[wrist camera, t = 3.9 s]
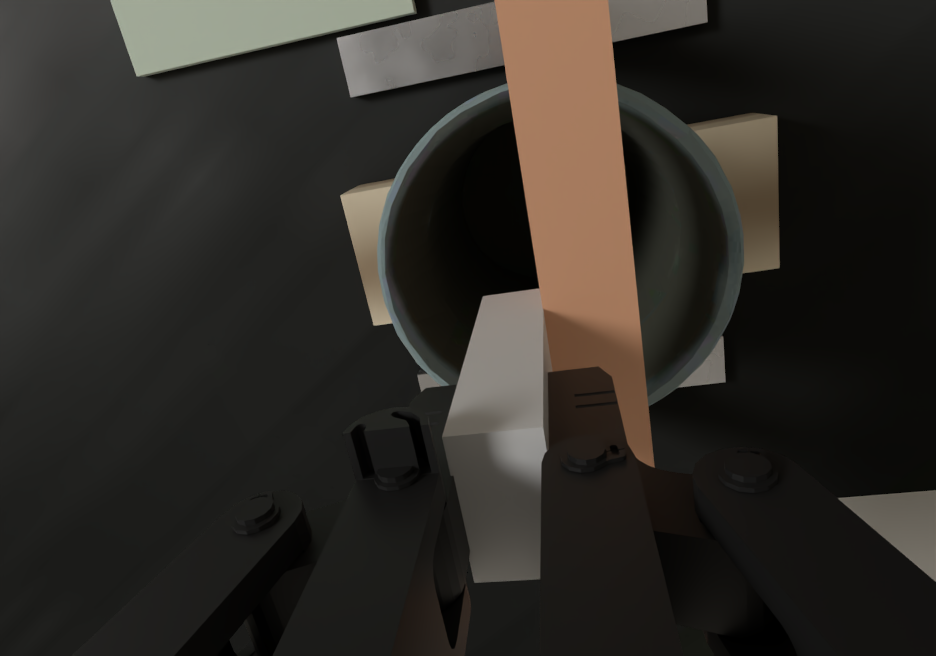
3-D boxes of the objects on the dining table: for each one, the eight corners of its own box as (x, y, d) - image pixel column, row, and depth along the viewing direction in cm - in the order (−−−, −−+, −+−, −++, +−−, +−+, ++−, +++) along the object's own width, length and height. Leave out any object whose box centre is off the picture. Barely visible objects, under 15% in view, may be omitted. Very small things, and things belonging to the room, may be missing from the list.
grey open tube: (664, 287, 29) (748, 412, 18) (456, 315, 31) (415, 448, 20) (649, 57, 26) (741, 37, 15) (414, 102, 27) (335, 115, 16)
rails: (340, 39, 27) (336, 38, 26) (700, -44, 24) (704, -47, 24) (429, 410, 33) (427, 415, 32) (722, 376, 30) (725, 382, 30)
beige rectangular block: (359, 184, 29) (340, 195, 26) (752, 112, 26) (777, 115, 23) (388, 304, 31) (374, 325, 28) (756, 249, 28) (779, 268, 25)
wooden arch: (515, 1, 25) (477, -109, 11) (565, -10, 24) (593, -140, 10) (573, 398, 31) (597, 659, 17) (613, 394, 30) (673, 655, 16)
